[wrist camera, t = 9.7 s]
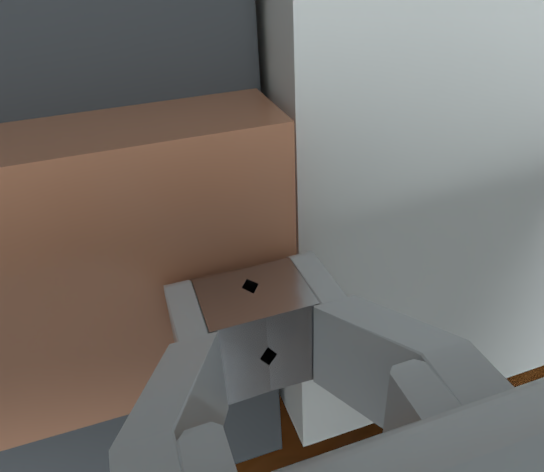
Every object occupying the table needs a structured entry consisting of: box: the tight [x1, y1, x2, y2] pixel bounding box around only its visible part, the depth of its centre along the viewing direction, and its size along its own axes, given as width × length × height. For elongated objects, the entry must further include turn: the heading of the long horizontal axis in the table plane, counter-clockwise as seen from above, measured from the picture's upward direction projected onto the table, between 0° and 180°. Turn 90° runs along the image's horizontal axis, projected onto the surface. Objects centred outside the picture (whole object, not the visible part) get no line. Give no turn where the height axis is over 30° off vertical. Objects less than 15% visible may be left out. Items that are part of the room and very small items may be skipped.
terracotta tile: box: [0, 88, 296, 451], centre depth 10 cm, size 9×6×2 cm, turn 92°
